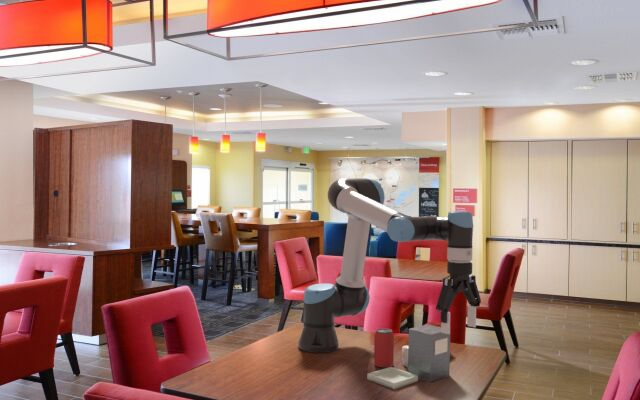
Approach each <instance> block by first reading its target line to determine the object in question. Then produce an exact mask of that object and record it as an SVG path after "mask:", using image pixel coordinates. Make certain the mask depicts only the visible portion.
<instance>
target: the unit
mask: <svg viewBox="0 0 640 400" xmlns="http://www.w3.org/2000/svg"><path fill="white" fill-rule="evenodd" d="M407 342H408V367H407V372H408V373H411V374H414V375H417V376H418V380H419V379H420V380H422V381H424V382H428V383H433V382H435V381H438V380H440V379H444V378H446V377H450V367H451V366H450V363H451V361H450V360H451V359H450V358H451V354H450V353H451V333H450V334H445V333H441V327H437V326H433V325H429V324H427V325H425V324H423V325H419V326H415V327H411V328H408V341H407Z"/></svg>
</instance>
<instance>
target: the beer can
mask: <svg viewBox="0 0 640 400" xmlns="http://www.w3.org/2000/svg"><path fill="white" fill-rule="evenodd" d="M373 341H374V345H373V346H374V349H373V350H374V353H373V364H374V366H376V367H379V368H381V369H385V368H389V367H393V365H394V358H395V356H394V350H395V346H394V345H395V337H394V333H393V330H392V329H390V328H376V330H375V333H374V340H373Z"/></svg>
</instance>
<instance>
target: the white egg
mask: <svg viewBox="0 0 640 400" xmlns="http://www.w3.org/2000/svg"><path fill="white" fill-rule="evenodd" d="M401 348H402V349H401V352H402V353H401V366H403V367H406V368H408V345H403V346H402V347H401Z"/></svg>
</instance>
